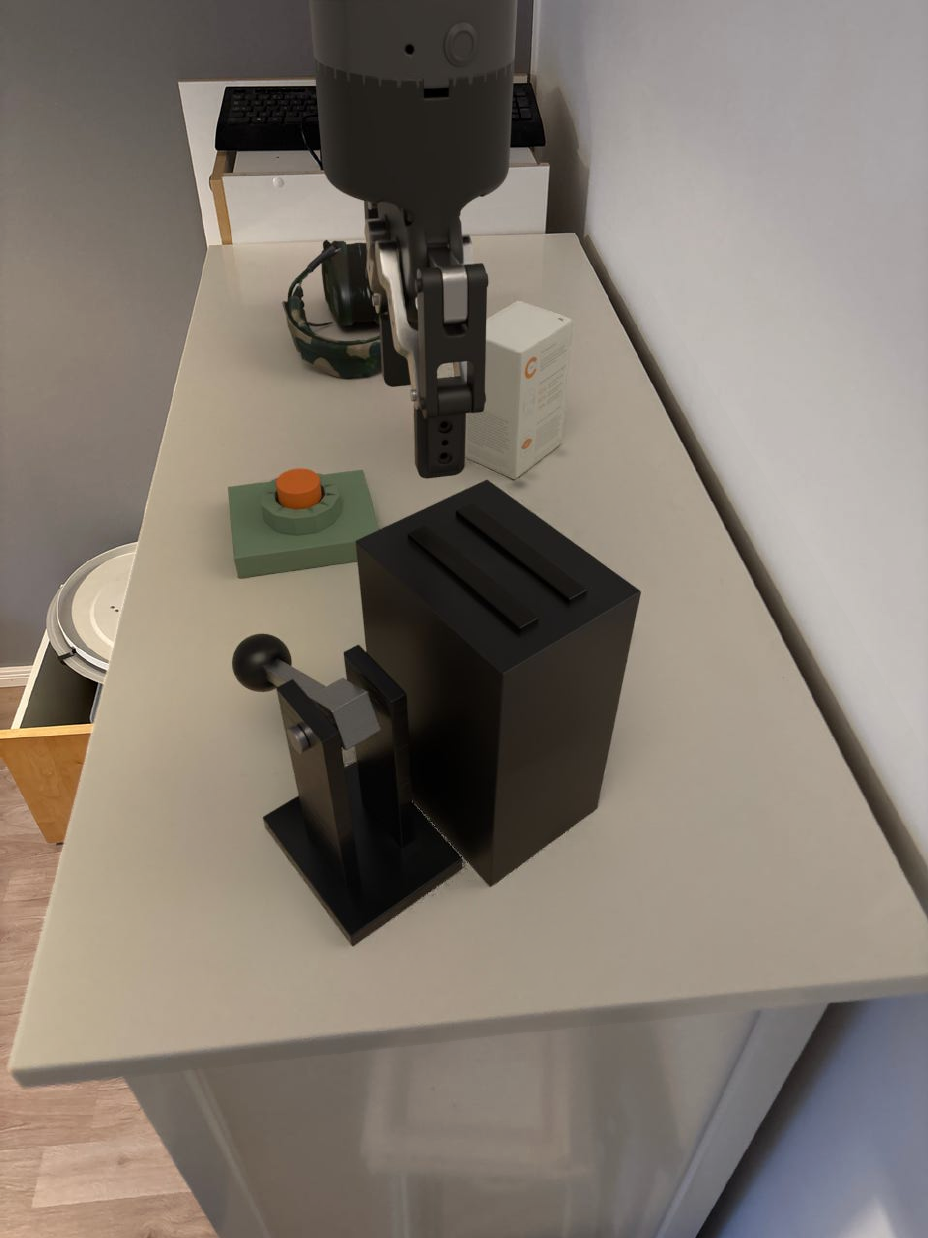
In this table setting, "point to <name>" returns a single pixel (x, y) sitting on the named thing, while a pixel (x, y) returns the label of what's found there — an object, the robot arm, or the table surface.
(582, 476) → the table surface
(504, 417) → the small box
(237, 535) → the control block
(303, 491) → the button
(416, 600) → the toaster
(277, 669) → the toaster lever
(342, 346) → the headphones
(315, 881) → the lever bracket
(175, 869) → the table surface
